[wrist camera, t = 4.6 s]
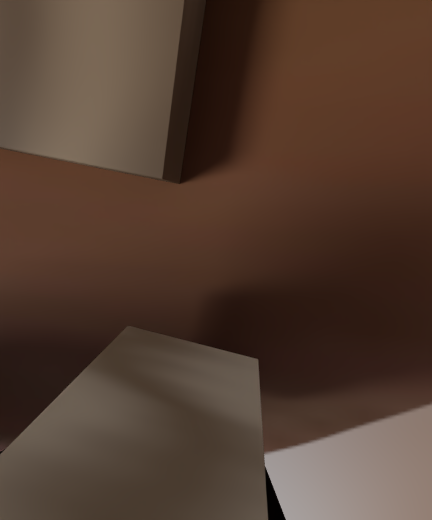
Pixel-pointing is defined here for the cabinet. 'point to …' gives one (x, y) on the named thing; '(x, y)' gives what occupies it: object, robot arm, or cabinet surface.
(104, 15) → the beige flat square slab
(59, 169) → the cabinet surface
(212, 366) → the maple cube
